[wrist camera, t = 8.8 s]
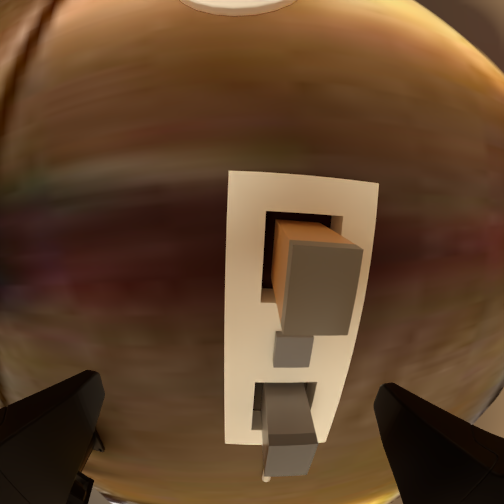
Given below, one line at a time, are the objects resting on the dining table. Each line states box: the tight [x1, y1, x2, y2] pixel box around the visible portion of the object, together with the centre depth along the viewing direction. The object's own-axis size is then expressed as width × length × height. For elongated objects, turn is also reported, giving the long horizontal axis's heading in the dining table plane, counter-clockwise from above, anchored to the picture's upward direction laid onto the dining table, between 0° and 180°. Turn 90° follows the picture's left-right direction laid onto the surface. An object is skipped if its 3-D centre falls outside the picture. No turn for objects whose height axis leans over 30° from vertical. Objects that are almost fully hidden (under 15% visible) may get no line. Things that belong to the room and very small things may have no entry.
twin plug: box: [261, 382, 318, 477], centre depth 18 cm, size 4×3×8 cm
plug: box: [271, 219, 364, 336], centre depth 16 cm, size 4×3×8 cm
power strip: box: [224, 171, 379, 482], centre depth 20 cm, size 32×9×3 cm, turn 177°
